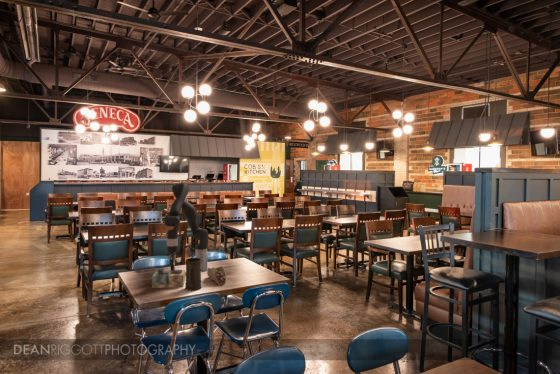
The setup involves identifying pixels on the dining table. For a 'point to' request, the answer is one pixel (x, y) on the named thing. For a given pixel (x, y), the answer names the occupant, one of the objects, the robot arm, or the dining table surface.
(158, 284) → the clear plastic box
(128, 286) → the dining table surface
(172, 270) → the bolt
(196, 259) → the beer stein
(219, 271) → the burrito
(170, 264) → the robot arm
